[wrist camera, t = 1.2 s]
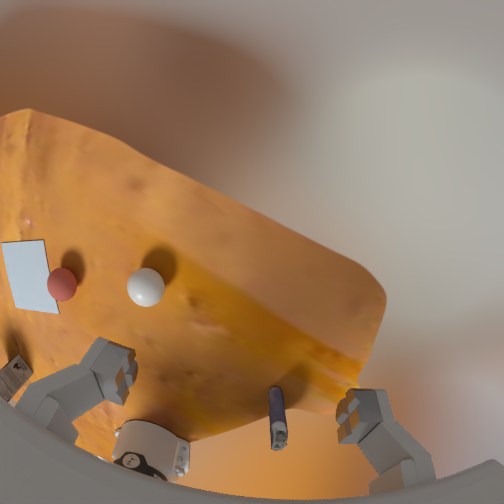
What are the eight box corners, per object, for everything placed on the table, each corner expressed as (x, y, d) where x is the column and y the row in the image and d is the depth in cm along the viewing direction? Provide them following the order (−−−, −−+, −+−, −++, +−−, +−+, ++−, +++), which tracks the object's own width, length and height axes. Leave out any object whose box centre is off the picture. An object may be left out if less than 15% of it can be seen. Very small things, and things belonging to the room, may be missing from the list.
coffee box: (23, 380, 48) (-7, 415, 32) (8, 361, 46) (-24, 394, 31) (34, 373, 47) (1, 412, 31) (18, 352, 45) (-18, 388, 30)
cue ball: (171, 297, 41) (161, 314, 36) (138, 296, 41) (125, 312, 36) (166, 262, 39) (155, 275, 34) (133, 263, 39) (118, 275, 34)
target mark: (59, 313, 42) (59, 313, 42) (16, 307, 42) (16, 307, 42) (43, 240, 38) (43, 240, 38) (1, 243, 38) (1, 243, 38)
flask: (267, 385, 45) (271, 430, 35) (284, 384, 45) (291, 428, 35) (268, 417, 48) (271, 459, 38) (283, 416, 48) (288, 458, 38)
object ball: (85, 294, 41) (68, 308, 35) (62, 293, 41) (45, 305, 35) (79, 263, 39) (61, 274, 34) (56, 263, 39) (37, 273, 34)
